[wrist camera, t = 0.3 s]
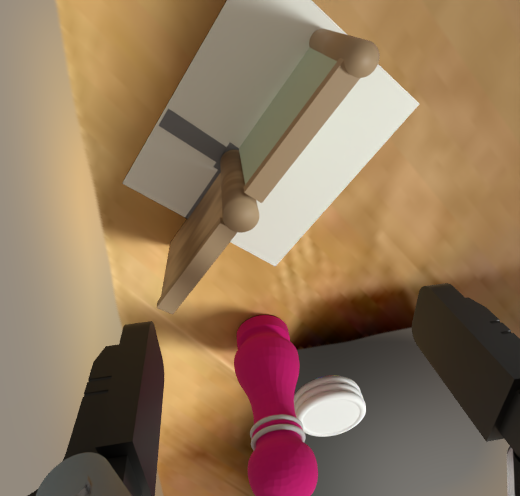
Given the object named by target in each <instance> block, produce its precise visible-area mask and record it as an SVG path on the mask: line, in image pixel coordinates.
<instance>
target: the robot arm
mask: <svg viewBox="0 0 520 496" xmlns="http://www.w3.org/2000/svg"><path fill="white" fill-rule="evenodd" d="M412 333H413V337H414V340H415V342H416V344H417V346H418V347H419V348H420V350H421V351H422V353H423V354H424V355H425V357H426V358H427V360H428V361H429V362H430V364H431V365H432V367H433V368H434V369H435V370H436V372H437V373H438V375H439V376H440V378H441V379H442V380H443V382H444V383H445V385H446V386H447V387H448V389H449V390H450V391H451V393H452V394H453V396H454V397H455V399H456V400H457V401H458V403H459V404H460V406H461V407H462V408H463V410H464V411H465V412H466V414H467V415H468V417H469V418H470V419H471V421H472V422H473V424H474V425H475V426H476V428H477V429H478V430H479V432H480V433H481V435H482V436H483V437H484V439H485V440H486V441H491V440H498V439H503V438H504V439H505V440H506V441H507V442H508V444H509V445H510V446H509V448H508V451H507V481H508V496H520V339H519V338H518V337H517V336H516V335H515V334H514V333H511V330H510V329H509V328H508V327H507V326H505V325H504V324H503V323H500V320H499V319H498V318H497V317H496V316H495V315H494V314H493V313H492V312H490V311H489V310H488V309H487V308H486V307H484V306H483V305H481V304H479V303H477V302H475V301H474V300H472V299H470V298H465V297H464V296H463V295H462V294H461V293H459V292H458V291H457V290H456V289H455V288H454V287H453V286H452V285H451V284H448V283H445V284H438V285H430V286H424V287H422V288H421V289H420V291H419V295H418V299H417V304H416V309H415V313H414V318H413V322H412ZM163 389H164V366H163V359H162V355H161V351H160V347H159V343H158V339H157V335H156V330H155V326H154V323H153V322H152V321H150V322H143V323H135V324H128V325H125V326H124V327H123V331H122V335H121V339H120V344H119V345H112V346H106V347H105V348H104V350H103V351H102V352H101V353H100V355H99V356H98V357H97V359H96V360H95V361H94V363H93V366H92V369H91V372H90V376H89V382H88V383H87V385H86V389H85V392H84V397H83V399H82V402H81V405H80V409H79V412H78V415H77V419H76V422H75V425H74V428H73V432H72V435H71V438H70V442H69V445H68V448H67V452H66V454H65V457H64V459H63V461H62V462H61V463H60V464H58V465H57V466H56V467H55V468H54V469H53V470H52V471H51V472H50V473H49V474H48V475H47V476H46V478H45V479H44V480H43V482H42V483H41V485H40V487H39V489H37V490H36V491H34V492H33V493H31V494H30V495H28V496H155V484H156V473H157V461H158V449H159V437H160V425H161V413H162V401H163Z"/></svg>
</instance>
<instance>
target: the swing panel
mask: <svg viewBox="0 0 520 496" xmlns="http://www.w3.org/2000/svg"><path fill="white" fill-rule="evenodd" d="M309 47H310V48H309V49H308V50H307V52H306V53H305V55H304V56H303V58H302V59H301V60H300V62H299V63H298V65H297V66H296V68H295V69H294V70H293V72H292V73H291V75H290V76H289V78H288V79H287V80H286V82H285V83H284V85H283V86H282V88H281V89H280V90H279V92H278V93H277V95H276V96H275V98H274V99H273V100H272V102H271V103H270V105H269V106H268V108H267V109H266V110H265V112H264V113H263V115H262V116H261V118H260V119H259V120H258V122H257V123H256V125H255V126H254V128H253V129H252V130H251V132H250V133H249V135H248V136H247V138H246V139H245V140H244V142H243V143H242V145H241V146H240V147H239V153H240V158H241V164H242V170H243V175H244V181H245V186H244V187H243V188H244V193H246V194H247V195H249V196H251V197H252V198H254V199H255V200H257V201H259V202H260V203H262V202H263V201H264V200H265V199H266V197H267V196H268V195H269V193H270V192H271V191H272V190H273V188H274V187H275V186H276V185H277V183H278V182H279V181H280V180H281V178H282V177H283V176H284V174H285V173H286V172H287V171H288V169H289V168H290V167H291V166H292V164H293V163H294V162H295V160H296V159H297V158H298V157H299V155H300V154H301V153H302V152H303V150H304V149H305V148H306V147H307V145H308V144H309V143H310V141H311V140H312V139H313V138H314V136H315V135H316V134H317V133H318V131H319V130H320V129H321V127H322V126H323V125H324V124H325V122H326V121H327V120H328V119H329V117H330V116H331V115H332V114H333V112H334V111H335V110H336V108H337V107H338V106H339V105H340V103H341V102H342V101H343V100H344V98H345V97H346V96H347V95H348V93H349V92H350V91H351V89H352V88H353V87H354V86H355V84H356V83H357V82H358V81H359V79H360V78H364V77H367V76H368V75H370V74H371V73H372V72H373V71H374V70H375V69H376V67H377V65H378V62H379V50H378V48H377V46H376V45H375V44H374V43H373V42H371V41H368V40H364V39H361V38H357V37H353V36H349V35H346V34H342V33H338V32H335V31H331V30H327V29H318V30H316V31H315V32H314V33H313V34H312V35H311V37H310V41H309Z"/></svg>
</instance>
